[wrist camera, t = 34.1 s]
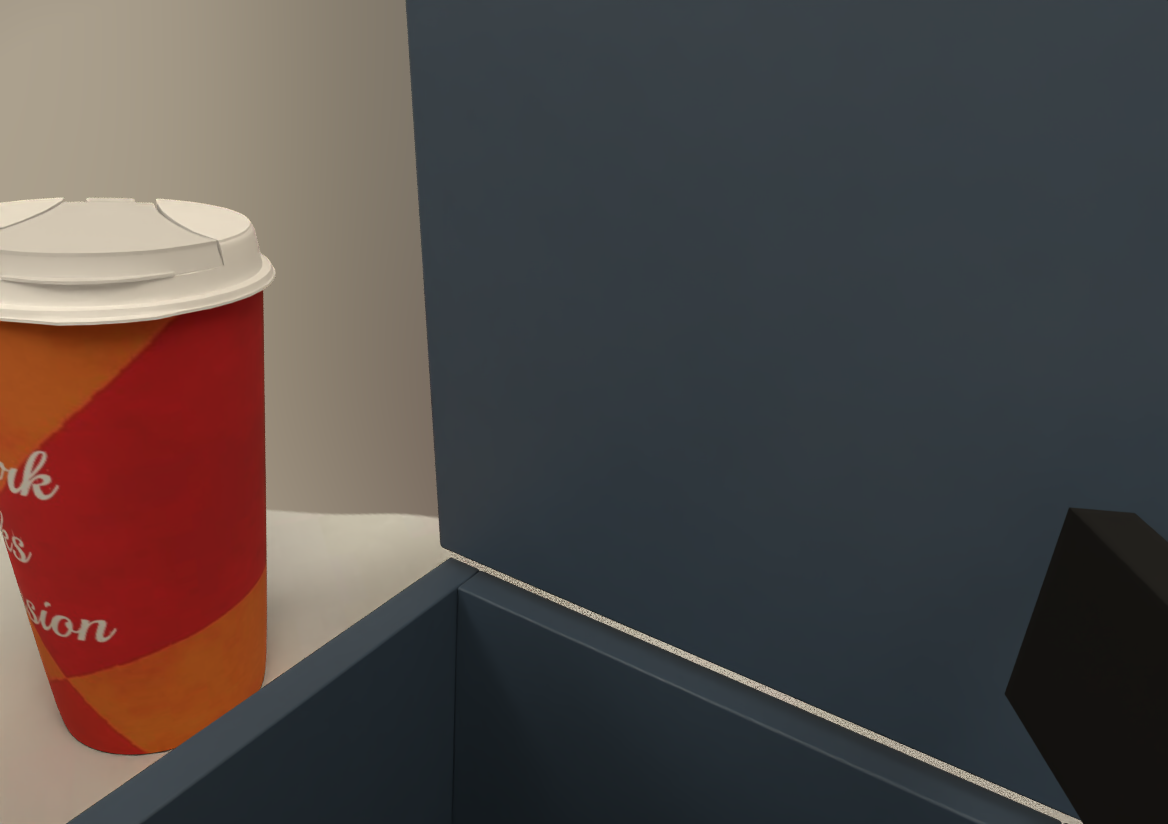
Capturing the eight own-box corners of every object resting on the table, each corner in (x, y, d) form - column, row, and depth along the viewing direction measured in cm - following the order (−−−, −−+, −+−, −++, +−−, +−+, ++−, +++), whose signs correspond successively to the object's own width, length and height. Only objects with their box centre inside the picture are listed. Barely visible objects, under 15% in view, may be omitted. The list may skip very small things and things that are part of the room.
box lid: (1931, -666, 5) (1514, -320, 11) (379, -364, 11) (650, -242, 16) (1133, 846, 12) (1138, 562, 18) (438, 547, 17) (615, 406, 23)
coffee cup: (39, 631, 29) (-57, 189, 23) (289, 591, 32) (261, 194, 26) (-10, 825, 22) (-165, 263, 16) (315, 749, 25) (285, 256, 19)
